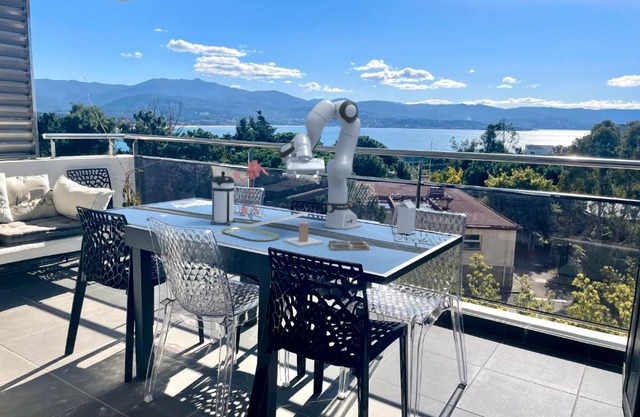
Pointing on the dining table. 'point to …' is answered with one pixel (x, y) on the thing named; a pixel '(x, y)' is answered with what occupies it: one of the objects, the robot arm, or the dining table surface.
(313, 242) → the off-white ceramic tile
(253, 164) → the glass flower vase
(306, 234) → the terracotta peg block
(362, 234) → the dining table surface
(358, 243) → the birch puzzle board
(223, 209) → the coffee press
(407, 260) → the dining table surface
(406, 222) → the milk carton
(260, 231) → the serving platter
